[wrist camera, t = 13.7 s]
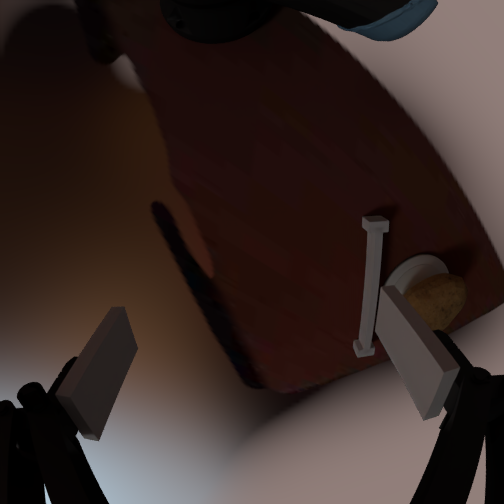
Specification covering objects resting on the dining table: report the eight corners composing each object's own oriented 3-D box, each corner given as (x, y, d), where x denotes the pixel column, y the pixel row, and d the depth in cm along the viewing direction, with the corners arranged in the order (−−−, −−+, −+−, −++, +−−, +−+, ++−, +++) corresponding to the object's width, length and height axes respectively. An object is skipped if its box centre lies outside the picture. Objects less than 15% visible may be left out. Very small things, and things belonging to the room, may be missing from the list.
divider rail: (362, 216, 43) (369, 222, 40) (380, 215, 43) (389, 220, 40) (352, 347, 51) (357, 357, 48) (368, 344, 51) (373, 354, 48)
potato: (456, 289, 46) (480, 311, 39) (395, 334, 49) (413, 362, 42) (441, 248, 44) (468, 268, 36) (375, 298, 46) (394, 325, 39)
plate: (384, 257, 45) (386, 260, 44) (453, 250, 45) (456, 252, 44) (375, 331, 50) (377, 334, 49) (439, 319, 50) (442, 322, 49)
